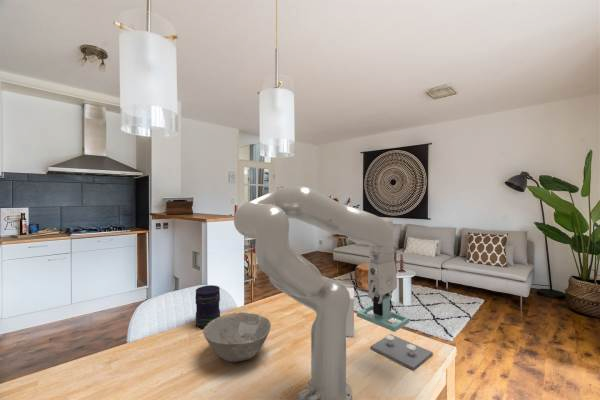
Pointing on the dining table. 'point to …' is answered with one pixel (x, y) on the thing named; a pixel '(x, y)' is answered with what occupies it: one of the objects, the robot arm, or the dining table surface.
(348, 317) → the milk carton
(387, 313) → the teal frame with block
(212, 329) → the ceramic bowl
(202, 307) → the storage jar
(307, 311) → the dining table surface
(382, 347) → the board
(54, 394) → the dining table surface
